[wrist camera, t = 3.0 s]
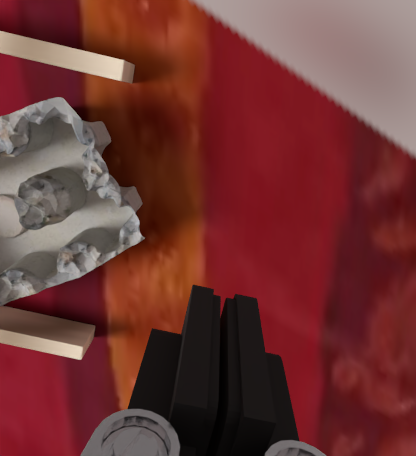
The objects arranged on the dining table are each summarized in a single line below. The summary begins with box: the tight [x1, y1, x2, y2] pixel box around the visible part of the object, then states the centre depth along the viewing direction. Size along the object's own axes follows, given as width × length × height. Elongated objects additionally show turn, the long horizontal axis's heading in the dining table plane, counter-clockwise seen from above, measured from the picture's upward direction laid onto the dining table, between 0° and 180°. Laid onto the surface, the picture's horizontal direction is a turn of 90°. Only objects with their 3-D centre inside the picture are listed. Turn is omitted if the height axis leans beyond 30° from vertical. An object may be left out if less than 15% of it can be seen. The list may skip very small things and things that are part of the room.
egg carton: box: [0, 97, 145, 306], centre depth 18 cm, size 11×8×4 cm
